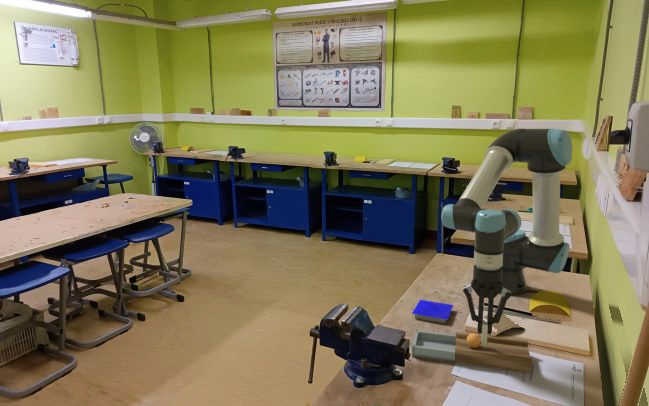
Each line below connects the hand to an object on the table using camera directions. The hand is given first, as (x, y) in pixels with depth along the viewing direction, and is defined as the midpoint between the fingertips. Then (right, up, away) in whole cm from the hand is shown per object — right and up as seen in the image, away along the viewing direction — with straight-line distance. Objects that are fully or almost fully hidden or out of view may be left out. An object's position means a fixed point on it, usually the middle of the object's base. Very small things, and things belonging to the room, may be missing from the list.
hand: (483, 343), depth 127 cm
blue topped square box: (-8, +1, +28) cm, 29 cm away
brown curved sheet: (+12, -1, +19) cm, 23 cm away
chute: (+2, -5, 0) cm, 5 cm away
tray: (-13, -4, +5) cm, 15 cm away
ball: (-3, +1, +1) cm, 3 cm away
